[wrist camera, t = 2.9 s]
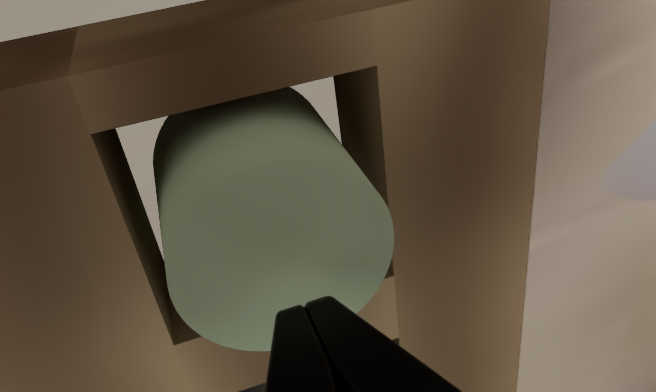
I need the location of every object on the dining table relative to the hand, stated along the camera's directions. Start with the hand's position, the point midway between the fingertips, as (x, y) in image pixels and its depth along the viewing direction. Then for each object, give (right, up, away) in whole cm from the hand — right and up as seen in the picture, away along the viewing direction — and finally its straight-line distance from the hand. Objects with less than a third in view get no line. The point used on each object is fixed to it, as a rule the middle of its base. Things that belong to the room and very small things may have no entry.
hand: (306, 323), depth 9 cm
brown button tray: (-1, -3, +9) cm, 9 cm away
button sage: (-2, +3, +5) cm, 6 cm away
